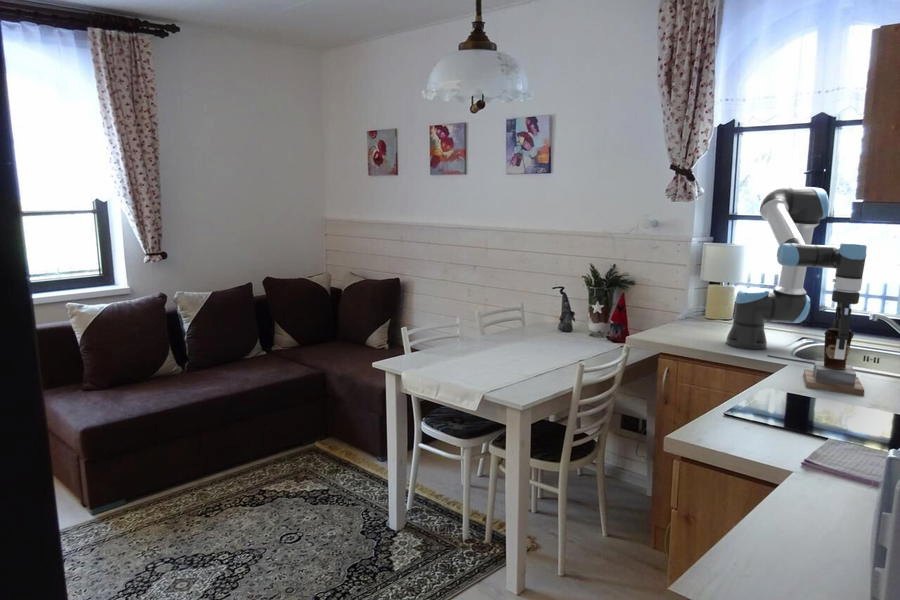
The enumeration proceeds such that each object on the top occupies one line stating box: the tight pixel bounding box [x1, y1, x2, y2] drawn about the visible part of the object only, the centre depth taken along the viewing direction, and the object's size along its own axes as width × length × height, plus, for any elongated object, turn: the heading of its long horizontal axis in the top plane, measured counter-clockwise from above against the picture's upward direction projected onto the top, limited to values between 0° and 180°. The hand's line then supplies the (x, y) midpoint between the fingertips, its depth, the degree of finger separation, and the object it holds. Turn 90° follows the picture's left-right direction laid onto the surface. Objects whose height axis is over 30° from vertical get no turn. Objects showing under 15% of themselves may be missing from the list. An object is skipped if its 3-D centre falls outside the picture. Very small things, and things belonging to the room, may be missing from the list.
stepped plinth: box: [803, 360, 865, 397], centre depth 215 cm, size 16×16×6 cm
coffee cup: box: [823, 327, 855, 369], centre depth 213 cm, size 9×8×13 cm
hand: (836, 354), depth 214 cm, fingers open, 13 cm apart
